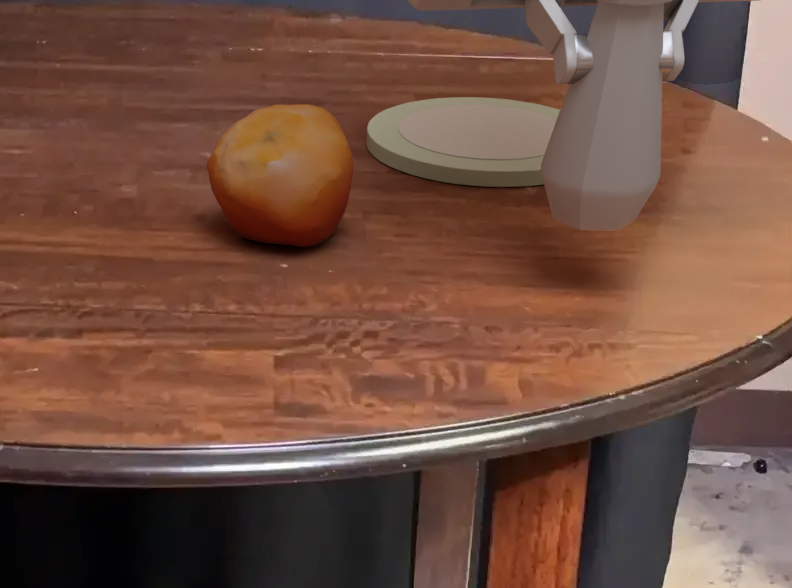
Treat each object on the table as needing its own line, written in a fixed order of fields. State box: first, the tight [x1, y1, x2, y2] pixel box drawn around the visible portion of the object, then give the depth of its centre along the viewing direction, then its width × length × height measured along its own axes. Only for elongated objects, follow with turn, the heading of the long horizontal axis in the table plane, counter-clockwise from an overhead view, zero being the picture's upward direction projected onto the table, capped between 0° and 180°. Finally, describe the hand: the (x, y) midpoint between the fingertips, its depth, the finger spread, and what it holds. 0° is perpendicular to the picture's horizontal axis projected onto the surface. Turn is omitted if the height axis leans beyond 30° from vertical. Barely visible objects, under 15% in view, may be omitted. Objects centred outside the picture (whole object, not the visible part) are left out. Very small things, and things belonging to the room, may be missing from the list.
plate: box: [365, 96, 560, 188], centre depth 98 cm, size 15×15×1 cm
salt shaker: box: [541, 0, 672, 232], centre depth 74 cm, size 6×6×13 cm
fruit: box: [206, 103, 355, 248], centre depth 85 cm, size 8×8×8 cm
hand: (620, 77), depth 73 cm, fingers closed on salt shaker, 3 cm apart
